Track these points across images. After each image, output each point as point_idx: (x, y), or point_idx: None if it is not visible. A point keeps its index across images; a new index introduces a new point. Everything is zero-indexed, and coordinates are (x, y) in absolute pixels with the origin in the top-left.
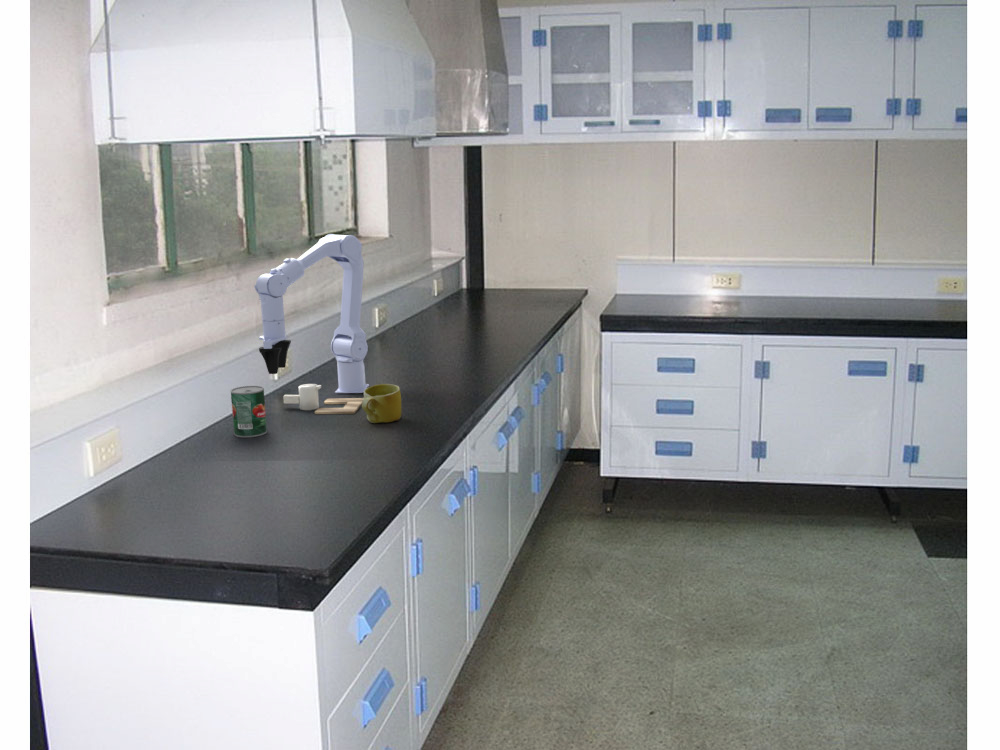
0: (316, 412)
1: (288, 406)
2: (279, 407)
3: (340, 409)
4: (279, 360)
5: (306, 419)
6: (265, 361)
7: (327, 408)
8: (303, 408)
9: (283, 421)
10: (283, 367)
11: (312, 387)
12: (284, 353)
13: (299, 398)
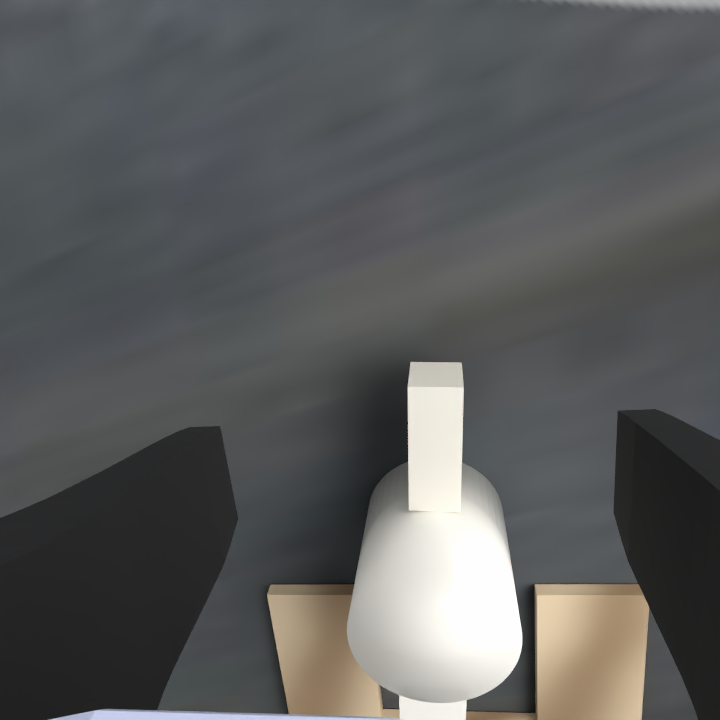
0: (269, 600)
1: (479, 359)
2: (446, 299)
3: (338, 714)
4: (653, 520)
5: None
6: (35, 512)
7: None
8: (370, 500)
9: (73, 448)
10: (614, 502)
11: (375, 680)
12: (709, 705)
13: (392, 511)
